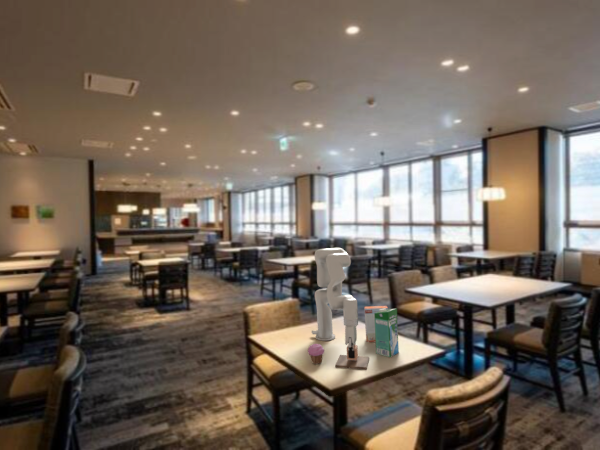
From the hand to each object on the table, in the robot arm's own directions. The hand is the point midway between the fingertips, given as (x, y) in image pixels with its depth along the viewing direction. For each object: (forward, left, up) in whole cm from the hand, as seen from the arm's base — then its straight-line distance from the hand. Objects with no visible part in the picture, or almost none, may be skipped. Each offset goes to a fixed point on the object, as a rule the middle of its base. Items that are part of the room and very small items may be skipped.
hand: (352, 355), depth 189 cm
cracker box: (+10, +37, -4) cm, 39 cm away
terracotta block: (0, 0, -1) cm, 1 cm away
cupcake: (-19, -3, -4) cm, 20 cm away
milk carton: (+17, +17, -4) cm, 24 cm away
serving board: (0, 0, -4) cm, 4 cm away
